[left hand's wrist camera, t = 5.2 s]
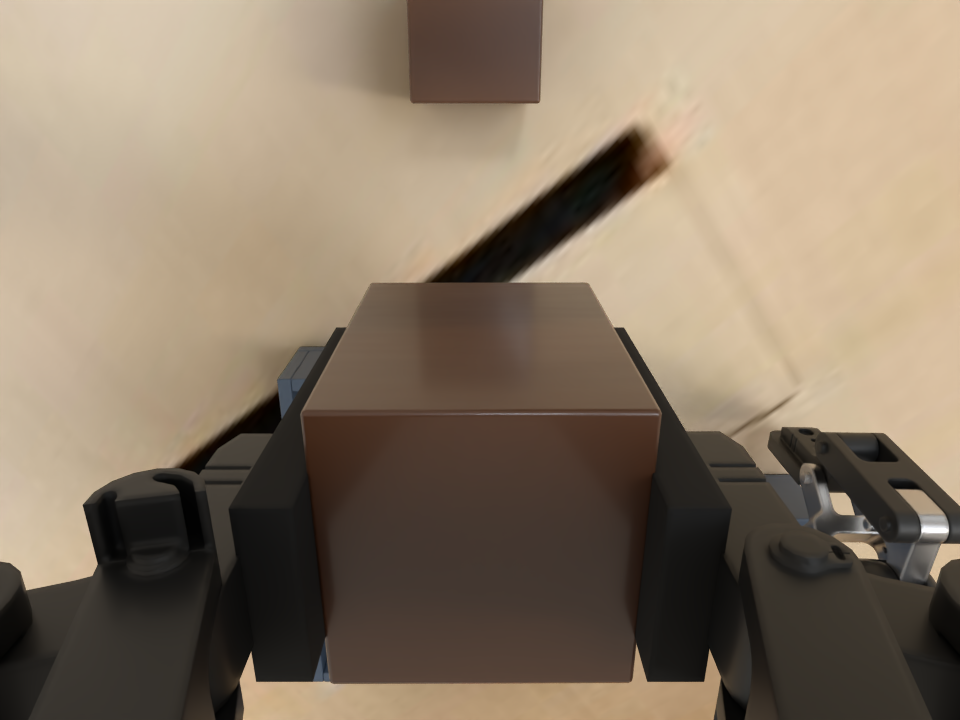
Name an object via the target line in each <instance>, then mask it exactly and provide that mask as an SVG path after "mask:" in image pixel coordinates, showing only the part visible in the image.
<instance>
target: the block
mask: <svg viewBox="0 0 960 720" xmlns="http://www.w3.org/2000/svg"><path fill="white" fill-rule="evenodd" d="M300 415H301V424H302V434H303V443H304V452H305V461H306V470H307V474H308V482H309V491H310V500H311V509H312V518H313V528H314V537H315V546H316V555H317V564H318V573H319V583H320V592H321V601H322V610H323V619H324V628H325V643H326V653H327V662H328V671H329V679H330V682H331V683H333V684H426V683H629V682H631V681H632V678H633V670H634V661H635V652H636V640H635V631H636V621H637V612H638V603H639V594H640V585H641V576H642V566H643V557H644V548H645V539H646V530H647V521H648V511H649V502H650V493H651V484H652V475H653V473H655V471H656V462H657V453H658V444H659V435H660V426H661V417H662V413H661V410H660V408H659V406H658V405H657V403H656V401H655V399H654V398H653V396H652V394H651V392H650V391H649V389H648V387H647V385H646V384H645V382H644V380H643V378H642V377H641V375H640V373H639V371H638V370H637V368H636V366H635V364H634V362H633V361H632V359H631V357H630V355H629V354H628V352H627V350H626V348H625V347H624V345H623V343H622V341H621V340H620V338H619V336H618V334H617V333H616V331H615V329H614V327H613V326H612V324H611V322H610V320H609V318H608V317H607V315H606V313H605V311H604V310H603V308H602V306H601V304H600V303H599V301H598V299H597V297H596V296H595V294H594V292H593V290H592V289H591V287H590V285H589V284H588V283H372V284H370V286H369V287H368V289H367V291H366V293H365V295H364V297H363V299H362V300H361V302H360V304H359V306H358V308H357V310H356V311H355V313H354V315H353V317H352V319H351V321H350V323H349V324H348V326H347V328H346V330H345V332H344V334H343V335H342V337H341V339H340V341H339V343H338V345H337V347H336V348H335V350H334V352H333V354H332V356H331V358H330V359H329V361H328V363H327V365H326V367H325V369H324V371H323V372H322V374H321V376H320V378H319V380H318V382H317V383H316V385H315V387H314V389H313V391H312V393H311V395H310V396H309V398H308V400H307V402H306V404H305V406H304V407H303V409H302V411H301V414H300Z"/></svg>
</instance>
